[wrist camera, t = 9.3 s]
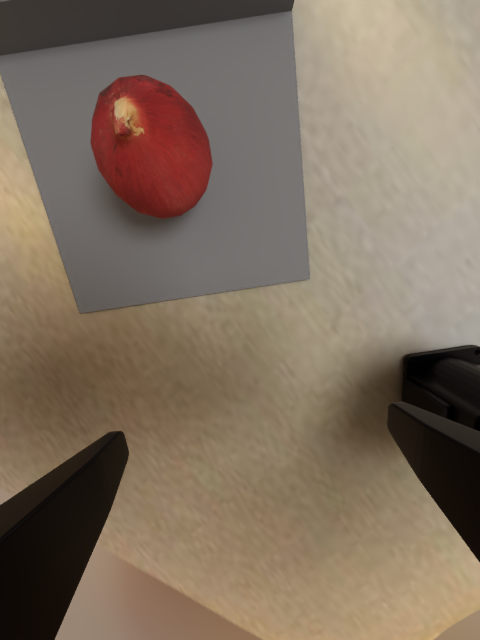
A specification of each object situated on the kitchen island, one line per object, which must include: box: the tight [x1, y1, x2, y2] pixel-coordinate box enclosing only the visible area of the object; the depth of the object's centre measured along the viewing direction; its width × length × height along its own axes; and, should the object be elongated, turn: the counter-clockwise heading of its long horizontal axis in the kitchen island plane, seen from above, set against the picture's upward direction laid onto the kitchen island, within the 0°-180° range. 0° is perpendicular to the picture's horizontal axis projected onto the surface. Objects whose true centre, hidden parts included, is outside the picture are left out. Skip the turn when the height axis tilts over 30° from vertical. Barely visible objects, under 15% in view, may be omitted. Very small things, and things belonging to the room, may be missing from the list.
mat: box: [0, 0, 310, 314], centre depth 15 cm, size 18×17×3 cm
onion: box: [90, 75, 213, 219], centre depth 12 cm, size 6×6×8 cm
